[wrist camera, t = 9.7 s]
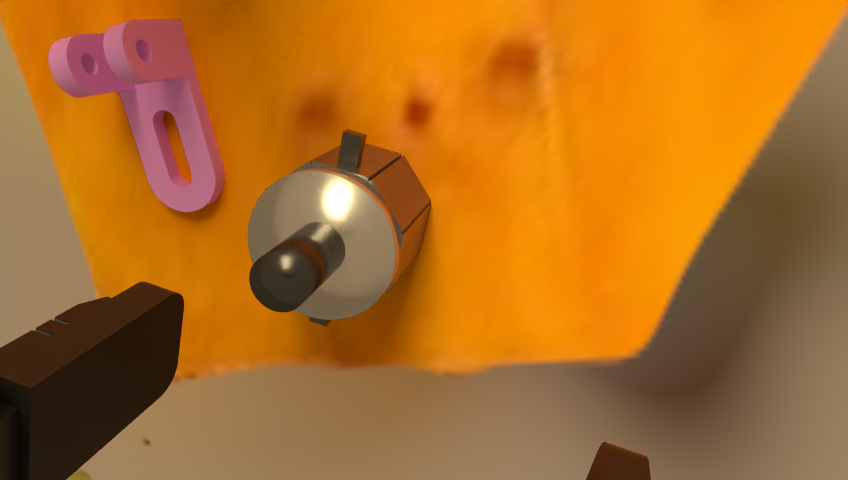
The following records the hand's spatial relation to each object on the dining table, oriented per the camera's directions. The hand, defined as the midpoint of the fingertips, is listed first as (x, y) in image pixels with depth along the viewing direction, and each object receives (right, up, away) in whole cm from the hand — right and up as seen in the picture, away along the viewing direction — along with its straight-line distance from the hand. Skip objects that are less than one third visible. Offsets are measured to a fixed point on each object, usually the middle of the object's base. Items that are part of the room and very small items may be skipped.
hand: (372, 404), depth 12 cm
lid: (-5, +3, +29) cm, 29 cm away
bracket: (-17, +12, +37) cm, 42 cm away
